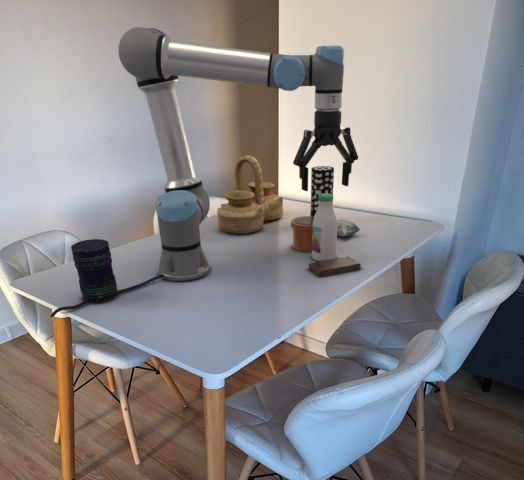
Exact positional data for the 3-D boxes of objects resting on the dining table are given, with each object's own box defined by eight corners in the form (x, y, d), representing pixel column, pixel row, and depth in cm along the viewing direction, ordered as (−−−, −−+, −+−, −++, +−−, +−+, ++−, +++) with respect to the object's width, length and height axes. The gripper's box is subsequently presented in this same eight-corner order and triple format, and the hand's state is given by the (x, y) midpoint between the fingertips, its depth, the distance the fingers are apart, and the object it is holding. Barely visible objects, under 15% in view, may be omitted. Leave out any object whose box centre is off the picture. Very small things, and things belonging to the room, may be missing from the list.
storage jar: (125, 295, 143) (115, 244, 136) (93, 307, 137) (81, 253, 130) (107, 286, 150) (97, 236, 142) (76, 296, 144) (64, 245, 136)
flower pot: (299, 254, 168) (299, 227, 163) (285, 244, 177) (285, 218, 172) (329, 249, 171) (330, 222, 167) (314, 239, 180) (314, 214, 176)
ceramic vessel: (253, 238, 184) (250, 166, 171) (209, 233, 191) (203, 163, 179) (291, 214, 210) (290, 149, 197) (251, 210, 217) (248, 147, 205)
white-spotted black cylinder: (307, 220, 201) (308, 167, 191) (326, 217, 203) (328, 165, 193) (315, 226, 195) (316, 171, 184) (335, 223, 197) (337, 169, 187)
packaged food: (344, 241, 178) (345, 227, 175) (319, 234, 185) (320, 220, 183) (360, 235, 183) (361, 222, 180) (335, 229, 190) (336, 216, 188)
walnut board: (319, 277, 150) (319, 271, 149) (308, 269, 156) (308, 263, 155) (360, 269, 155) (360, 263, 154) (348, 262, 160) (348, 256, 159)
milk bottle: (335, 253, 167) (338, 191, 157) (336, 262, 161) (339, 197, 151) (312, 253, 168) (313, 191, 158) (311, 262, 161) (312, 197, 151)
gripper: (293, 113, 136) (292, 195, 146) (373, 108, 144) (367, 185, 154) (281, 111, 142) (282, 189, 152) (359, 106, 150) (354, 180, 160)
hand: (325, 187), depth 153 cm, fingers open, 13 cm apart
